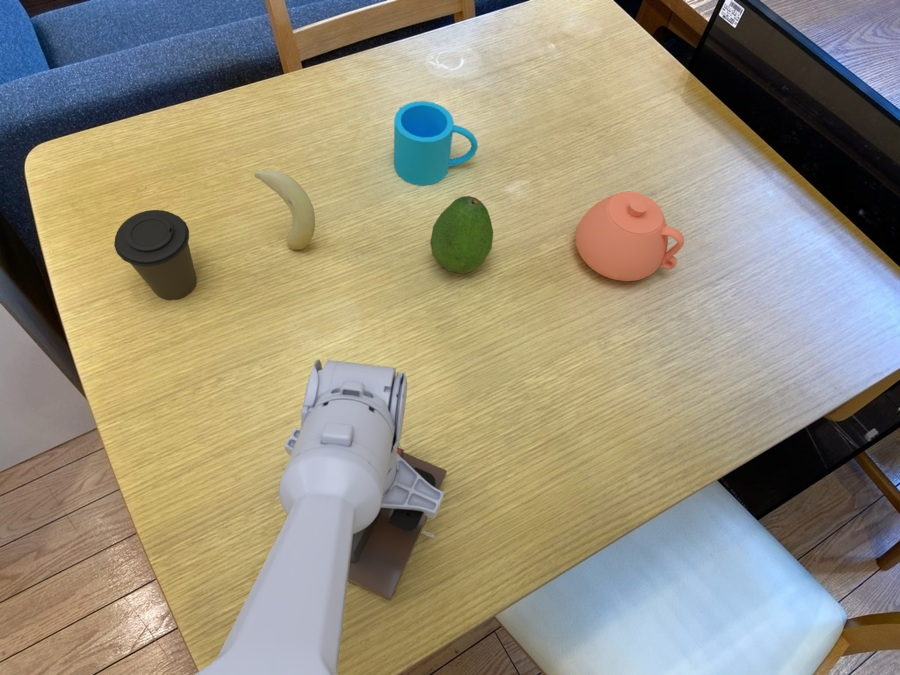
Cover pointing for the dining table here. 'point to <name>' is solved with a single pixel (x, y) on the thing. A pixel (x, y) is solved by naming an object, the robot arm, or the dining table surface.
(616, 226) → the sugar bowl
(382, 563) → the brown pegged board
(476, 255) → the fruit
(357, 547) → the gray bar
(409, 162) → the mug
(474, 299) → the dining table surface
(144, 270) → the coffee cup
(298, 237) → the fruit
